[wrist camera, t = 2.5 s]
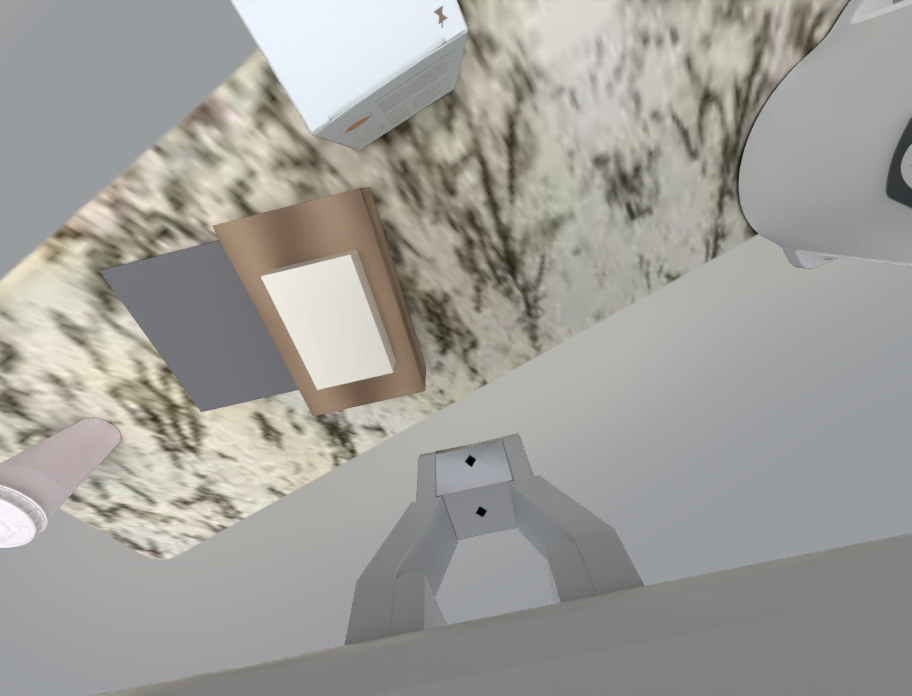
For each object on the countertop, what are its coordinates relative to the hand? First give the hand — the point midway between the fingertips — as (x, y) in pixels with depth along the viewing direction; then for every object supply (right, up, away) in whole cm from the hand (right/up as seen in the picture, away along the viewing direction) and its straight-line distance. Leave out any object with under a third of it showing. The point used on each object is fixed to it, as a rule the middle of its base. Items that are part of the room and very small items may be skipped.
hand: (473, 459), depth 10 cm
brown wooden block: (-10, +7, +19) cm, 22 cm away
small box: (-5, +21, +12) cm, 25 cm away
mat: (-21, +5, +19) cm, 29 cm away
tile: (-9, +6, +15) cm, 19 cm away
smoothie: (-36, -5, +23) cm, 43 cm away
